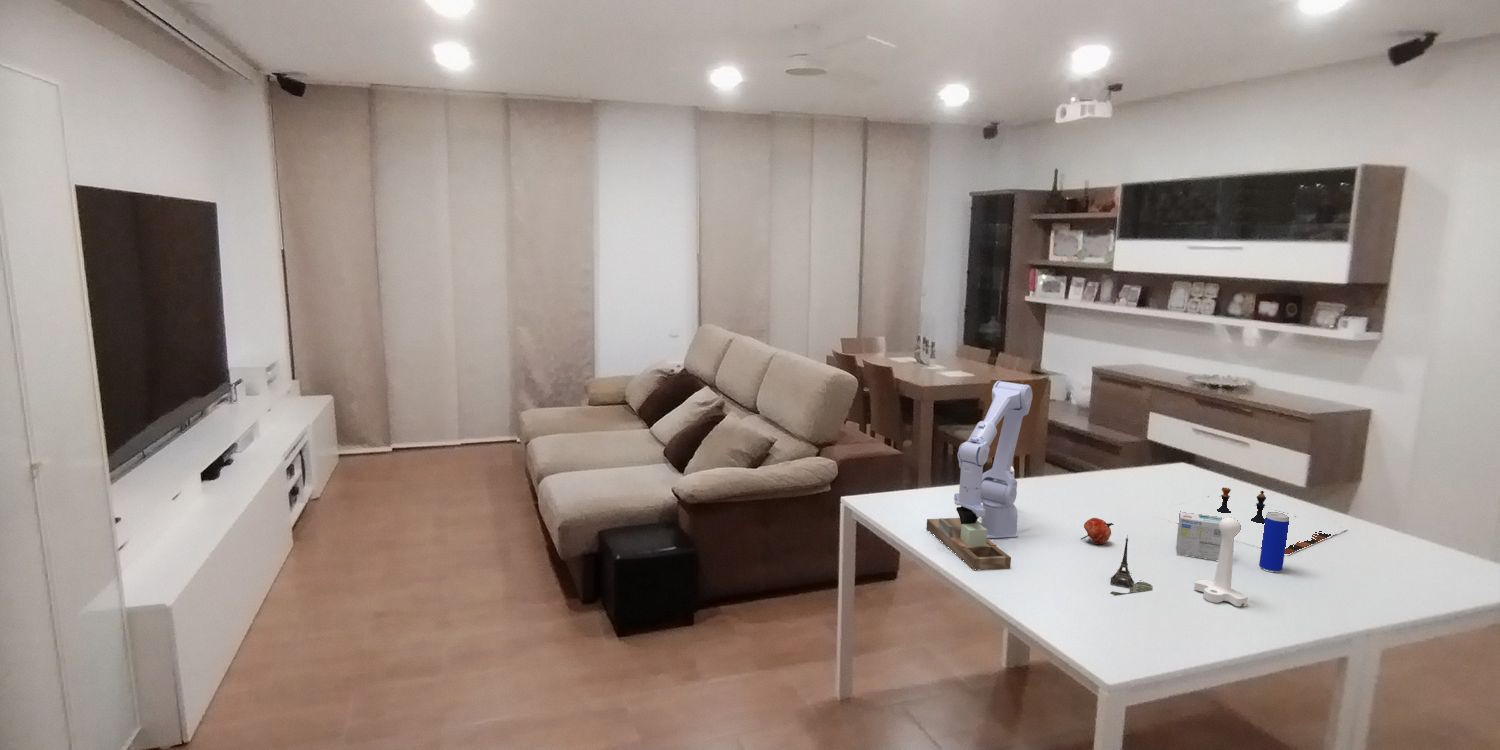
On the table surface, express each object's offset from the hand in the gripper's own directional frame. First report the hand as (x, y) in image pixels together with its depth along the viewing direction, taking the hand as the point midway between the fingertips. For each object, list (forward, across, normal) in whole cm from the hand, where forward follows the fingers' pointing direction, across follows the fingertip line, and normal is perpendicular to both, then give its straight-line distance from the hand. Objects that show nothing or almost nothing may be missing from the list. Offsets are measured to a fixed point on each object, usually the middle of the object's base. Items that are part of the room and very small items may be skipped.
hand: (967, 533), depth 222 cm
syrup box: (+4, -28, +25) cm, 37 cm away
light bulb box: (+4, +12, +62) cm, 63 cm away
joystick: (+4, +38, +46) cm, 60 cm away
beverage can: (+4, +24, +74) cm, 78 cm away
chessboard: (+5, -10, +97) cm, 98 cm away
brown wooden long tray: (+4, 0, 0) cm, 4 cm away
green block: (+1, +4, 0) cm, 4 cm away
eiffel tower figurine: (+5, +28, +28) cm, 40 cm away
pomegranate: (+4, 0, +39) cm, 39 cm away
